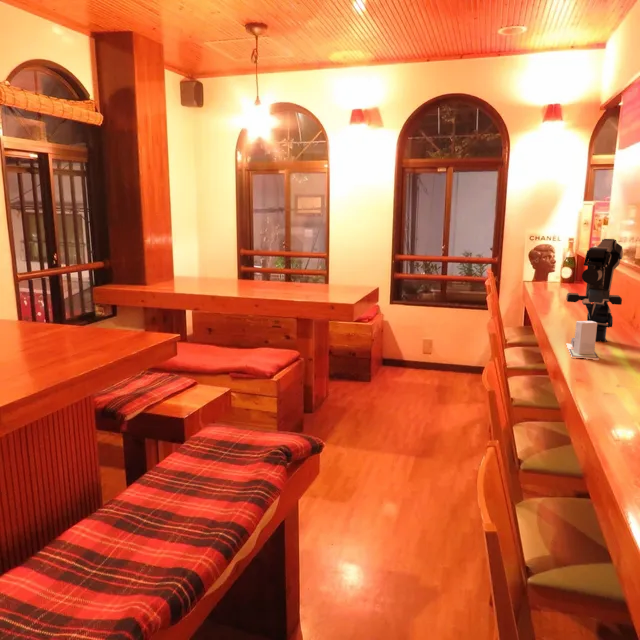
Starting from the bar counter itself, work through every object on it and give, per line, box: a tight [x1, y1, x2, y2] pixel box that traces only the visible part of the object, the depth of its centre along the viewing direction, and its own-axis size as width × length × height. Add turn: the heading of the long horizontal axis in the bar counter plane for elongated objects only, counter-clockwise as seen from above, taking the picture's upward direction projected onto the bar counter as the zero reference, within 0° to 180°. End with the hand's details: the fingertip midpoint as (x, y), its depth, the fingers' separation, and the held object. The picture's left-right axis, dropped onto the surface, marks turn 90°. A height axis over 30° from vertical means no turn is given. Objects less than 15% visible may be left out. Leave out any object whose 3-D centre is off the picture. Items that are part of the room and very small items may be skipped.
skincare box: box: [574, 320, 597, 354], centre depth 202 cm, size 6×4×12 cm
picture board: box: [565, 337, 600, 361], centre depth 207 cm, size 20×9×3 cm, turn 162°
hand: (591, 320), depth 212 cm, fingers closed
